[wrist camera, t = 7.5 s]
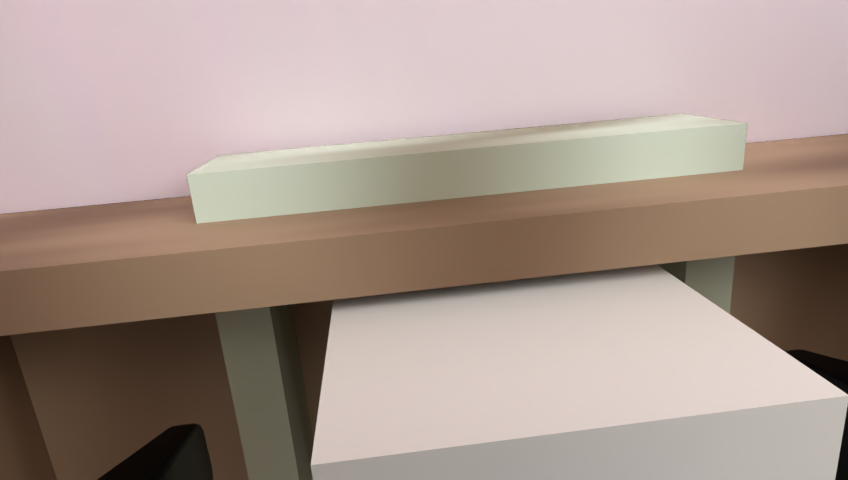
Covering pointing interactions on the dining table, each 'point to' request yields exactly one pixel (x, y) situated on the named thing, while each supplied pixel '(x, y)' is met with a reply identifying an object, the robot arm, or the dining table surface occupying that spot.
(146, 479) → the robot arm
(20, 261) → the box
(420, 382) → the plug
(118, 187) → the dining table surface
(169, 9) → the dining table surface
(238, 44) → the dining table surface
